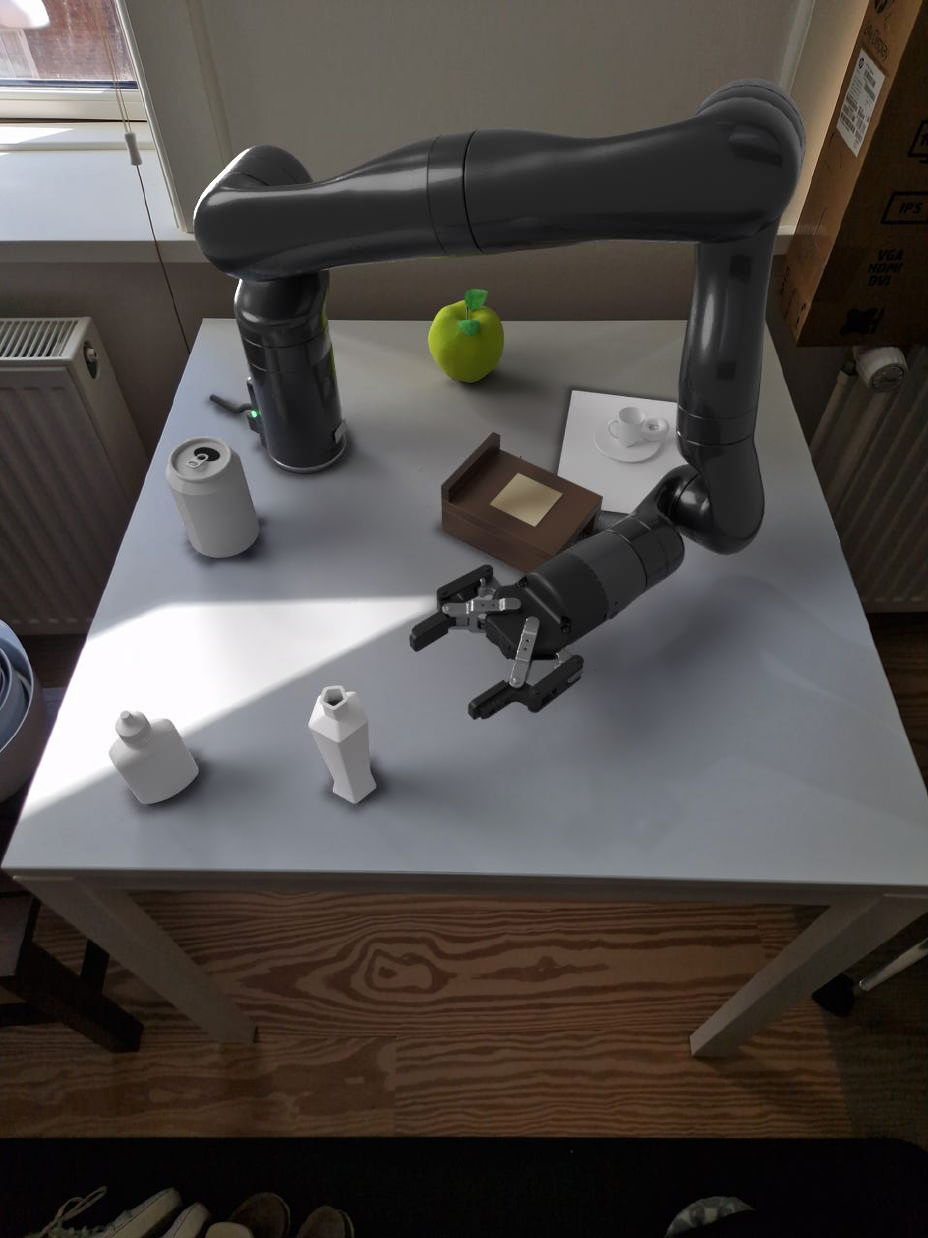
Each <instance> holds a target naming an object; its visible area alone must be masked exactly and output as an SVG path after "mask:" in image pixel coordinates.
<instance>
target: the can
mask: <svg viewBox="0 0 928 1238" xmlns="http://www.w3.org/2000/svg"><path fill="white" fill-rule="evenodd" d="M164 474H165V478H166V483H167V485H168V487H169V490H170V493H171V494H172V497H173V500H174V503H175V505H176V507H177V510H178V513H179V515H180V518H181V520H182V523H183V526H184V528H185V531H186V533H187V536H188V538H189V541H190V544H191V546H192V547H193V548H194V549H195V550H196V551H197V552H198V553H200V554H201V555H203V556H205V557H211V558H214V559H215V558H218V559H219V558H229V557H233V556H236V555H239V554H241V553H243V552H245V551H246V550H248V549H249V548H250V547H251V546H252V545H253V544H254V543H255V542H256V540H257V538H258V537H259V535H260V526H261V525H260V522H259V519H258V516H257V512H256V509H255V505H254V501H253V498H252V495H251V491H250V488H249V484H248V481H247V478H246V473H245V470H244V467H243V463H242V459H241V456H240V454H239V453H237V451H236V450H235V449H234V448H232V447H231V446H230V445H229V444H228V442H226V441H225V440H223V439H221V438H219V437H215V436H210V435H205V436H203V435H202V436H195V437H191V438H189V439H185V440H184V441H182V442H180V443H179V444H178V445H176V446H175V447H174V448H173V449H172V450H171V452H170V453H169V455H168V459H167V465H166V469H165V473H164Z"/></svg>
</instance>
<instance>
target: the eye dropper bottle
mask: <svg viewBox="0 0 928 1238" xmlns="http://www.w3.org/2000/svg"><path fill="white" fill-rule="evenodd" d="M114 728H115V729H114V730H115V732H116V734H117V735H118V736H119V737H117V739H116V740H115V741H114V742H113V743H112V745H111V746H110V748H109V750H108V756H109V758H110V760H111V763H112V764H113V766H114V768H115V769H116V771H117V773H118V774H119V775H120V777H121V778H122V779H123V781H124V783H125V784H126V785H127V786H128V788H129V789H130V791H131V792H132V793H133V794H134V796H135V797H136V798H137V801H139V802H140V803H141V804H142V805H143V804H144V805H151V804H156V803H159V802H162V801H165V800H168V799H170V798H171V797H174V796H176V795H177V794H179V793H181V792H182V791H184V790H185V788H187V787H188V786H189V785H190V784H191V783H192V782H193V781H194V780H195V779H196V777H197V776H198V775H199V771H200V770H199V766H198V764H197V762H196V761H195V759H194V757H193V755H192V754H191V752H190V750H189V748H188V746H187V745H186V743H185V741H184V739H183V738H182V736H181V734H180V733H179V731H178V729H177V727H176V726H175V724H174V723H173V721H171V720H170V718H164V717H163V718H161V717H160V718H154V719H148V718H147V717H146V715H145V714H144V713H143V712H141V711H139V710H134V709H133V710H123V711H122V712H120V714H119V716H118V718H117V720H116V722H115V726H114Z"/></svg>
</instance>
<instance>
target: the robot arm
mask: <svg viewBox="0 0 928 1238" xmlns="http://www.w3.org/2000/svg"><path fill="white" fill-rule="evenodd" d="M806 139H807V136H806V129H805V123H804V119H803V116H802V114H801V111H800V108H799V107H798V105H797V103H796V101H794V99H793V97H792V96H791V95H790V94H789V93H788V92H787V91H786V90H785V89H784V88H783V87H781V86H780V85H778V84H776V83H775V82H773V81H770V80H768V79H764V78H757V77H743V78H739V79H735V80H734V81H731V82H728V83H726V84H723V85H722V86H720V87H719V88H717V89H716V90H714V91H713V92H712V93H711V94H709V95H708V96H707V97H706V98H705V99H704V100H703V101H702V102H701V103H700V104H699V105H698V106H697V107H696V109H695V110H694V112H693V113H691V115H690V117H689V118H685V119H682V120H678V121H675V122H671V123H668V124H664V125H659V126H655V127H649V128H645V129H640V130H636V131H630V132H625V133H621V134H613V135H605V136H592V137H589V136H575V135H568V134H561V133H556V132H551V131H544V130H539V129H531V128H530V129H529V128H523V127H506V126H505V127H487V128H479V129H471V130H465V131H457V132H450V133H444V134H437V135H434V136H429V137H426V138H423V139H422V138H421V139H419V140H415V141H412V142H409V143H406V144H404V145H401V146H398V147H396V148H393V149H391V150H389V151H387V152H384V153H382V154H379V155H378V156H376V157H374V158H373V157H372V159H371V158H370V159H369V160H367V161H365V162H363V163H361V164H359V165H356V166H353V167H352V168H349V169H348V170H345V171H343V172H341V173H338V174H336V175H334V176H331V177H328V178H324V179H320V180H317V181H314V179H313V177H312V175H311V174H310V172H309V171H308V169H307V168H306V167H305V165H304V164H303V163H302V162H301V161H300V160H299V158H297V157H296V156H295V155H294V154H292V153H291V152H289V151H288V150H286V149H284V148H282V147H279V146H277V145H273V144H258V145H257V144H256V145H253V146H250V147H248V148H247V149H245V150H243V151H241V153H239V154H238V155H237V156H236V157H235V158H234V159H233V160H232V161H231V162H230V163H229V164H228V165H227V166H226V167H225V169H223V170H222V171H221V173H219V174H218V175H217V177H216V178H214V180H213V181H211V183H210V184H209V185H208V186H207V188H206V189H205V190H204V192H203V193H202V194H201V196H200V199H199V200H198V203H197V204H196V207H195V210H194V214H193V220H192V230H193V236H194V240H195V243H196V246H197V247H198V250H199V251H200V253H201V254H202V255H203V256H204V258H205V259H206V260H207V261H208V262H209V264H211V265H212V266H214V267H215V268H216V269H217V270H219V271H220V272H222V273H224V274H226V275H227V276H229V277H231V278H235V279H237V280H239V282H238V285H237V288H236V291H235V294H234V299H233V312H234V317H235V322H236V326H237V328H238V333H239V337H240V341H241V345H242V350H243V354H244V356H245V361H246V365H247V369H248V373H249V377H248V378H247V380H246V387H247V391H248V396H249V400H250V403H248V402H247V403H246V402H245V403H242V404H240V405H238V406H237V405H234V404H232V403H230V402H228V401H226V400H224V399H223V398H221V397H220V396H218V395H216V394H213V393H211V394H210V396H209V401H211V402H213V403H215V404H216V405H218V406H220V407H221V408H223V409H225V410H227V411H229V412H232V413H235V414H242V413H244V412H245V411H250V412H248V413H247V414H246V418H247V422H248V425H249V430H250V431H251V432H254V433H256V434H258V435H259V438H260V442H261V446H262V447H264V448H265V449H266V450H267V453H268V456H269V458H270V460H271V461H272V462H273V463H274V464H275V465H276V466H277V467H279V468H280V469H282V470H285V471H288V472H290V473H295V474H296V473H297V474H309V473H316V472H319V471H323V470H325V469H328V468H330V467H332V466H333V465H334V464H336V463H337V462H338V461H339V460H341V458H342V457H343V456H344V454H345V453H346V450H347V447H348V439H347V434H346V429H347V423H346V422H347V421H346V418H345V417H343V411H342V403H341V395H340V391H339V383H338V377H337V369H336V362H335V357H334V349H333V344H332V337H331V329H330V323H329V317H328V316H329V315H328V309H327V302H328V296H329V292H330V283H331V282H330V281H331V280H330V279H331V278H330V270H333V269H337V268H343V267H344V268H345V267H351V266H361V265H378V264H389V263H399V262H410V261H419V260H430V259H458V258H470V257H482V256H484V257H485V256H492V255H500V254H508V253H514V252H523V251H536V250H537V251H538V250H548V249H555V248H564V247H572V246H579V245H584V244H585V245H586V244H595V243H609V242H612V243H613V242H635V243H637V242H639V243H645V242H646V243H669V244H671V243H673V244H693V270H692V271H693V272H692V280H691V281H692V283H691V292H690V300H689V307H688V314H687V319H686V327H685V333H684V339H683V344H682V345H683V346H682V350H681V357H680V365H679V373H678V374H679V375H678V382H677V383H678V384H677V397H676V403H677V413H676V446H677V450H678V452H679V454H680V455H681V457H682V458H683V459H684V460H685V461H686V462H687V463H688V464H684V465H680V466H678V467H675V468H673V469H672V470H670V471H669V472H668V473H666V474H665V475H664V476H663V477H662V479H661V480H660V481H659V482H658V483H657V485H656V486H655V487H654V488H653V489H652V490H651V492H650V493H649V494H648V495H647V496H646V497H645V498H644V499H643V500H642V501H641V503H640V504H639V505H638V506H637V507H636V508H635V509H634V510H633V511H632V512H631V513H630V514H627V516H625V517H623V518H622V519H620V520H618V521H616V522H615V523H613V524H611V525H610V526H608V527H607V528H605V529H603V530H602V531H600V532H598V533H596V534H593V535H591V536H589V537H587V538H584V539H582V540H580V541H579V542H577V543H575V544H573V545H571V546H569V547H568V549H567V550H565V551H563V552H562V553H560V554H558V555H557V556H555V557H553V558H552V559H550V560H549V561H547V562H545V563H544V564H542V565H540V566H539V567H537V568H535V569H534V570H532V571H530V572H529V573H527V574H524V575H523V576H522V577H521V578H520V579H519V580H518V581H516V582H515V583H512V584H509V585H502V583H501V582H500V581H499V580H498V579H497V577H495V575H494V567H493V566H492V565H491V564H487V563H486V564H483V565H481V566H479V567H477V568H475V569H473V570H471V571H469V572H467V573H465V574H464V575H462V576H459V577H458V578H455V579H454V580H452V581H450V582H448V583H445V584H444V585H442V586H440V587H439V588H437V589H436V610H437V611H436V612H435V613H433V614H432V615H430V616H428V617H426V618H425V619H424V620H422V621H421V622H419V623H417V624H415V625H414V626H413V627H412V628H411V633H410V634H409V647H410V648H411V649H412V650H413V651H414V652H415V653H418V652H421V650H423V649H425V648H426V647H428V646H430V645H431V644H433V643H434V642H436V641H438V640H439V639H441V638H443V637H444V636H447V635H448V634H449V630H450V631H455V630H456V631H460V630H461V631H469V632H470V633H471V634H485V638H486V639H487V640H488V641H489V642H490V643H491V644H492V645H494V646H496V647H497V648H498V649H499V651H500V653H501V655H503V657H504V658H505V659H506V660H512V661H514V662H513V667H512V669H511V673H510V677H509V680H508V681H505V679H502V680H500V681H498V682H497V683H496V684H494V685H493V686H491V687H489V688H488V689H487V690H485V691H484V692H482V693H480V694H479V695H477V696H476V697H474V698H473V699H471V701H469V703H468V704H467V714H468V715H469V716H470V718H471V719H472V720H473V721H476V720H478V719H481V720H488V719H490V718H491V717H493V716H494V715H496V714H498V713H499V712H500V711H502V710H503V709H505V708H506V707H508V706H509V705H511V704H513V703H519V704H521V705H523V706H525V707H526V708H527V710H528V711H529V712H530V713H532V714H536V713H539V712H540V711H542V710H543V709H545V707H547V706H548V705H550V704H551V703H552V702H553V701H555V700H556V699H557V698H559V697H560V696H561V695H562V694H563V693H565V692H566V691H567V690H569V689H571V687H573V686H574V685H575V684H576V683H578V682H579V681H580V680H581V679H582V674H583V670H584V666H585V665H584V664H585V659H584V657H583V656H582V655H580V654H574V655H573V654H572V653H571V652H569V651H568V650H567V649H566V647H567V646H570V645H572V644H574V643H575V642H577V641H579V640H580V639H581V638H582V637H585V636H586V635H588V634H589V633H591V632H592V631H594V630H595V629H597V628H598V627H600V626H601V625H604V623H606V622H607V621H609V620H613V619H614V618H615V617H617V616H618V615H619V613H621V612H622V611H624V610H625V609H627V608H628V607H629V606H630V605H631V604H632V603H633V602H634V601H635V600H637V599H638V598H639V597H641V596H642V595H643V594H645V593H647V592H648V591H649V590H651V589H652V588H654V587H655V586H657V585H659V584H660V583H662V582H663V581H664V580H666V579H667V578H670V576H672V575H673V574H674V573H675V572H677V570H679V568H680V567H681V566H682V565H683V563H684V560H685V556H686V547H685V542H684V539H683V537H684V538H686V539H688V540H690V541H691V542H693V543H695V544H697V545H699V546H701V547H702V548H704V549H705V550H707V551H710V552H711V553H713V554H717V555H720V556H732V555H737V554H738V553H740V552H742V551H744V550H745V549H746V548H748V547H749V546H750V545H751V544H752V543H753V542H754V541H755V539H756V538H757V536H758V534H759V533H760V531H761V528H762V525H763V522H764V517H765V511H766V510H765V509H766V505H765V504H766V498H765V489H764V483H763V478H762V473H761V468H760V467H761V466H760V461H759V455H758V451H757V447H756V443H755V435H756V434H755V433H756V427H757V419H758V410H759V402H760V401H759V400H760V393H761V382H762V369H763V367H762V366H763V353H764V339H765V325H766V314H767V313H766V312H767V302H768V292H769V284H770V277H771V269H772V266H773V265H772V263H773V258H774V253H775V247H776V242H777V238H778V233H779V229H780V224H781V221H782V218H783V214H784V213H785V211H786V210H787V208H788V207H789V205H790V204H791V202H792V200H793V198H794V195H795V192H796V190H797V187H798V184H799V182H800V179H801V178H800V177H801V173H802V168H803V164H804V159H805V155H806ZM486 596H492V598H491V599H485V597H486ZM478 597H480V598H481V599H476V598H478ZM483 598H484V599H483ZM480 615H485V618H480V617H479V616H480ZM539 661H541V662H543V661H545V662H546V661H547V662H548V661H549V662H550V661H555V662H554V664H553V665H554V666H553V670H552V671H551V672H549V673H548V674H547V675H545V676H544V677H542V678H541V679H540V680H539V681H538V682H536V683H535V684H534V685H531V684H529V683H528V680H529V676H530V673H531V669H532V666H533V662H539Z"/></svg>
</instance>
